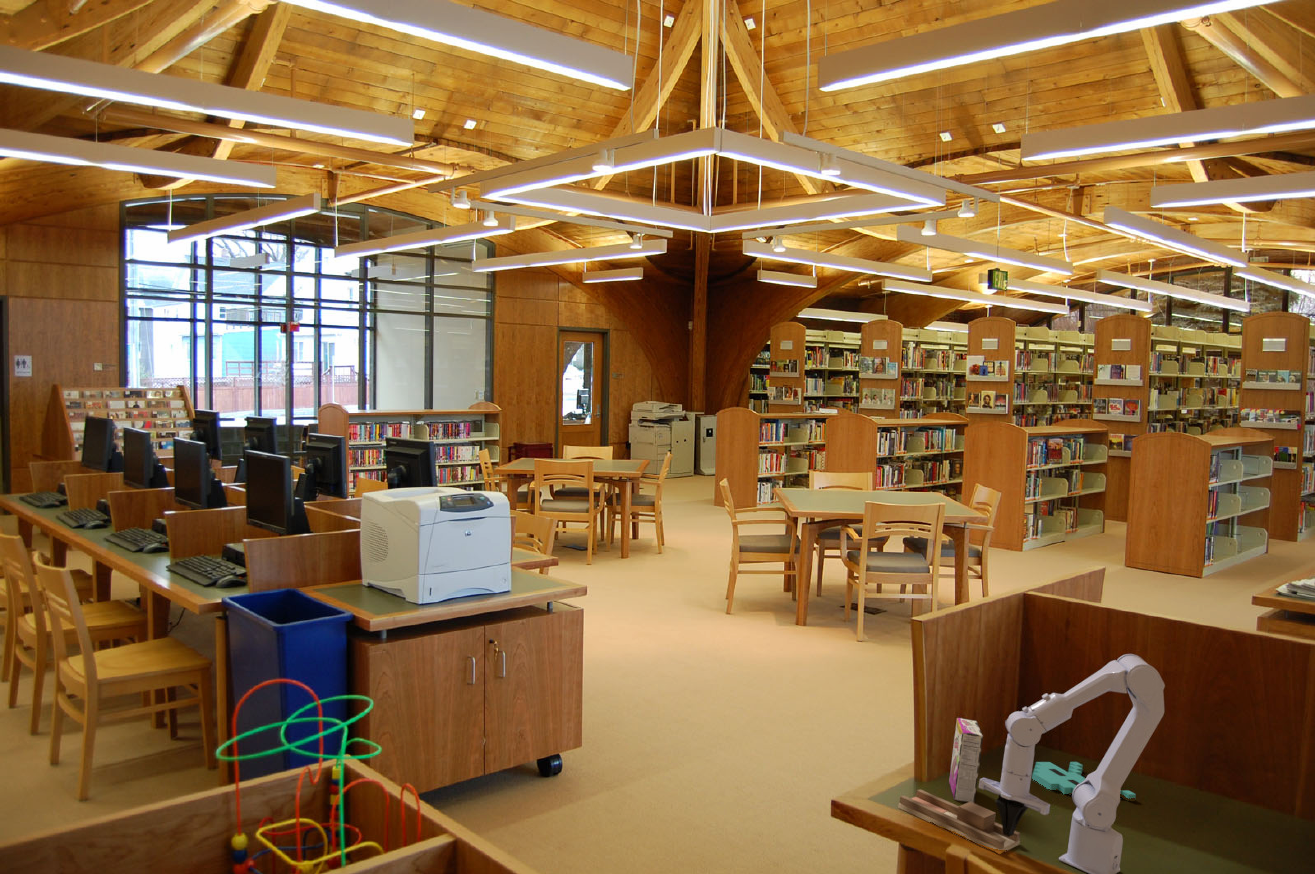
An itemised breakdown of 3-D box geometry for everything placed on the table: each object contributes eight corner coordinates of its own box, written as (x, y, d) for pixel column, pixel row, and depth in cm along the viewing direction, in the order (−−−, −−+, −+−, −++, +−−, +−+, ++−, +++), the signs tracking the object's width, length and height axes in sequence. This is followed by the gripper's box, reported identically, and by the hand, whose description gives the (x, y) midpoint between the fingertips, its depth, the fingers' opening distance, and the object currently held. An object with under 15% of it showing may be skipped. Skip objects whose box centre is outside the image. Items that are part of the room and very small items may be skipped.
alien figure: (1075, 769, 247) (1014, 770, 241) (1076, 761, 247) (1015, 761, 241) (1134, 802, 228) (1069, 804, 222) (1135, 794, 228) (1070, 795, 222)
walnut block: (993, 830, 197) (995, 812, 197) (982, 836, 194) (984, 817, 194) (967, 819, 202) (970, 801, 201) (956, 824, 198) (958, 806, 198)
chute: (1019, 844, 195) (1020, 832, 195) (999, 854, 189) (1000, 842, 189) (919, 799, 212) (920, 788, 212) (898, 807, 206) (899, 796, 206)
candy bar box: (947, 782, 225) (956, 716, 225) (968, 786, 224) (977, 720, 224) (952, 800, 214) (961, 731, 214) (974, 804, 213) (984, 735, 213)
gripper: (975, 761, 194) (966, 823, 195) (1042, 787, 184) (1033, 853, 184) (991, 755, 199) (982, 816, 200) (1057, 781, 189) (1048, 845, 189)
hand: (1008, 834), depth 192 cm, fingers closed
